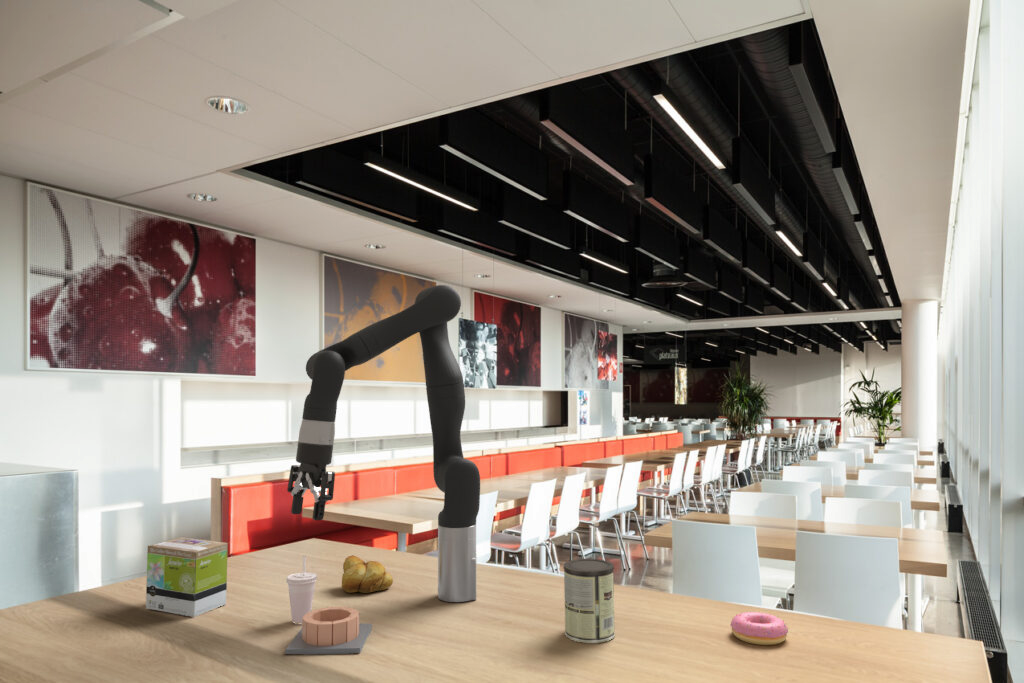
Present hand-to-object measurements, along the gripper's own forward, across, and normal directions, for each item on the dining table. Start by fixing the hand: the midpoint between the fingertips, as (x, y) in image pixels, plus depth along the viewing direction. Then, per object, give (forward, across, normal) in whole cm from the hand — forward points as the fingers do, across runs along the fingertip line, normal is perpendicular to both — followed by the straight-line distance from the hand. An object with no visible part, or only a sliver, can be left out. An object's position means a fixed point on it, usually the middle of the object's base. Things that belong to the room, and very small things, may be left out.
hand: (306, 516), depth 152 cm
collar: (+22, -14, 0) cm, 26 cm away
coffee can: (+17, -50, -37) cm, 65 cm away
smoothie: (+23, +1, -3) cm, 23 cm away
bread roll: (+21, +10, -26) cm, 35 cm away
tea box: (+25, +30, +10) cm, 40 cm away
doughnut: (+14, -77, -58) cm, 97 cm away
